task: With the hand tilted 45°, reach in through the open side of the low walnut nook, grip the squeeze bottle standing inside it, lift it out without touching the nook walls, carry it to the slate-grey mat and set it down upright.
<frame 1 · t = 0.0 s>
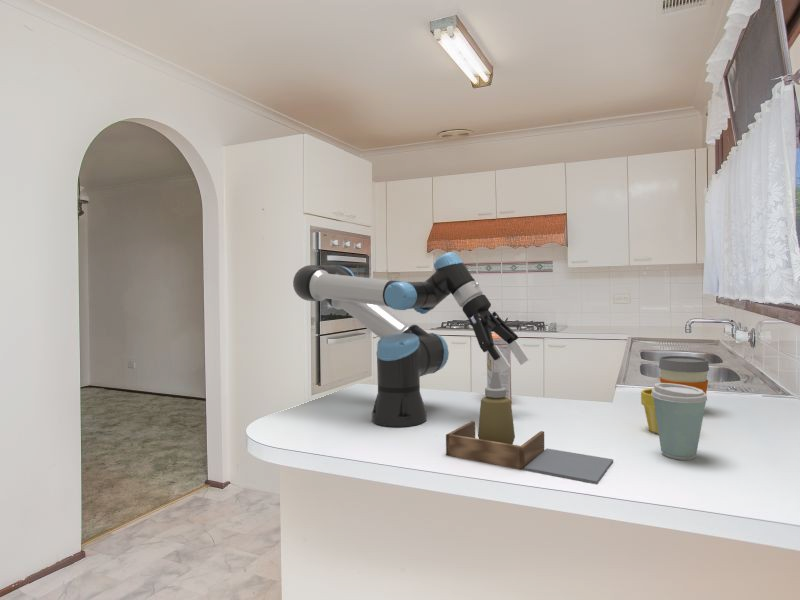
hand: (516, 365, 138), 15 cm above the counter, tool tilted 35°, fingers open, 13 cm apart
disposable coffee cup: (678, 456, 111), on the counter
squeeze bottle: (496, 453, 115), on the counter
cracker box: (498, 400, 166), on the counter
plant pot: (664, 432, 129), on the counter
walnut nook: (496, 452, 115), on the counter
slate mat: (569, 465, 106), on the counter
reusable coffee cup: (683, 412, 148), on the counter
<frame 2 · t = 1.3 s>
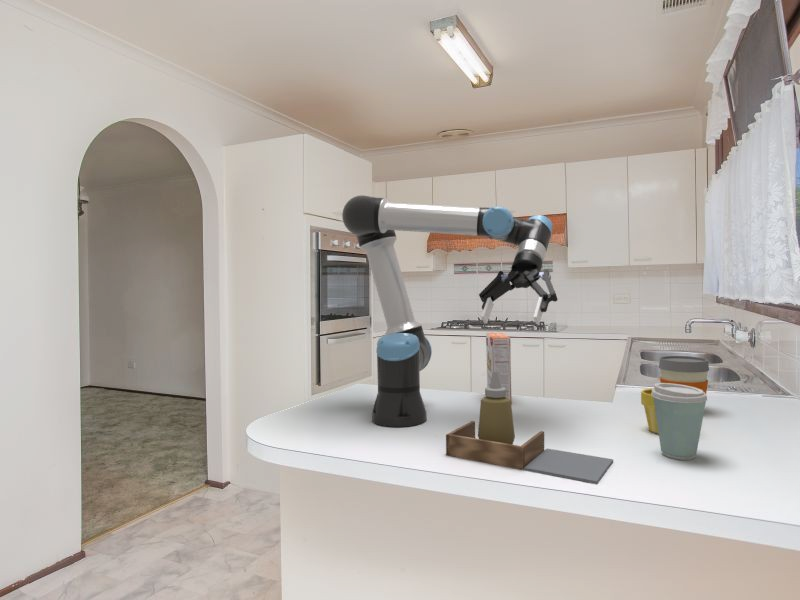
hand: (509, 320, 128), 28 cm above the counter, tool tilted 45°, fingers open, 13 cm apart
nothing on the counter moved.
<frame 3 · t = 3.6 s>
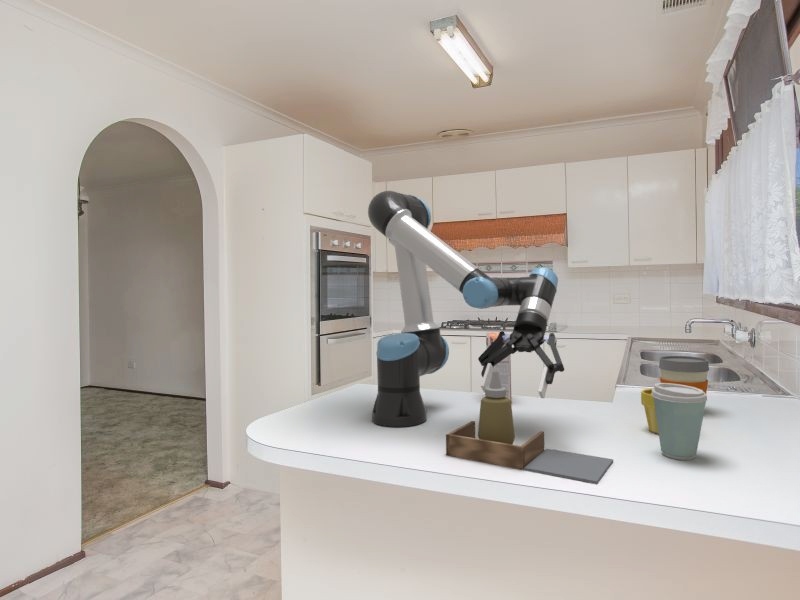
hand: (511, 392, 117), 13 cm above the counter, tool tilted 45°, fingers open, 13 cm apart
nothing on the counter moved.
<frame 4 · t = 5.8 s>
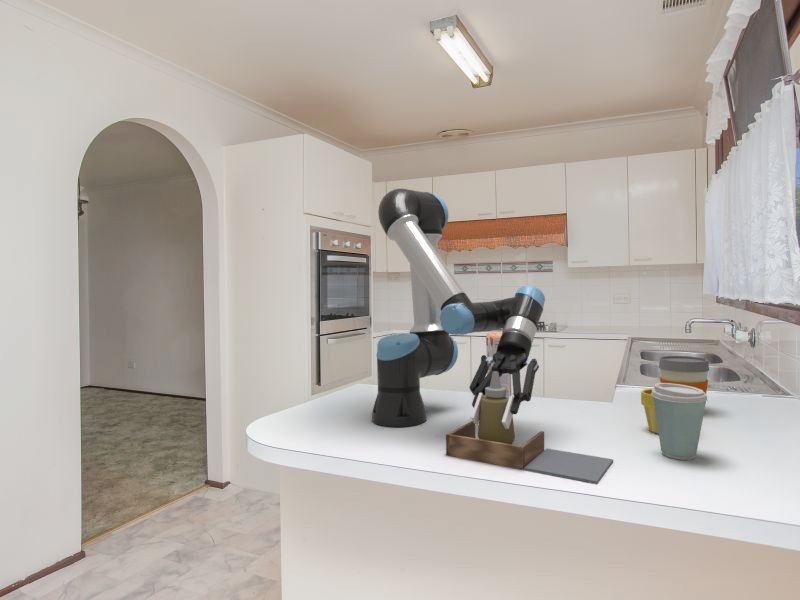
hand: (489, 423, 112), 7 cm above the counter, tool tilted 45°, fingers closed on squeeze bottle, 6 cm apart
squeeze bottle: (496, 453, 115), on the counter, touching gripper
everything else where it was.
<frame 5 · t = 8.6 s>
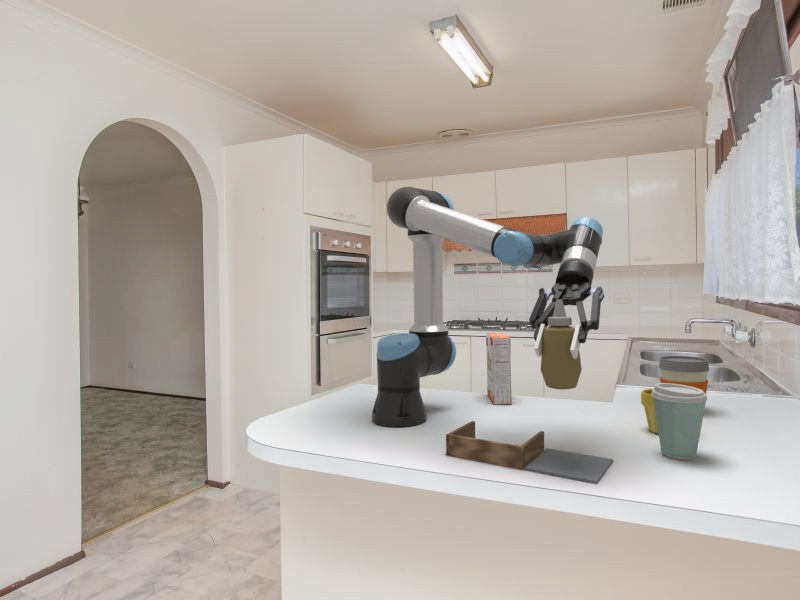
hand: (555, 353, 103), 23 cm above the counter, tool tilted 45°, fingers closed on squeeze bottle, 6 cm apart
squeeze bottle: (561, 388, 106), point 16 cm above the counter, touching gripper
everything else where it was.
when the fingers open (9 cm above the counter, at t = 11.6 s): squeeze bottle drops 1 cm, resting on slate mat.
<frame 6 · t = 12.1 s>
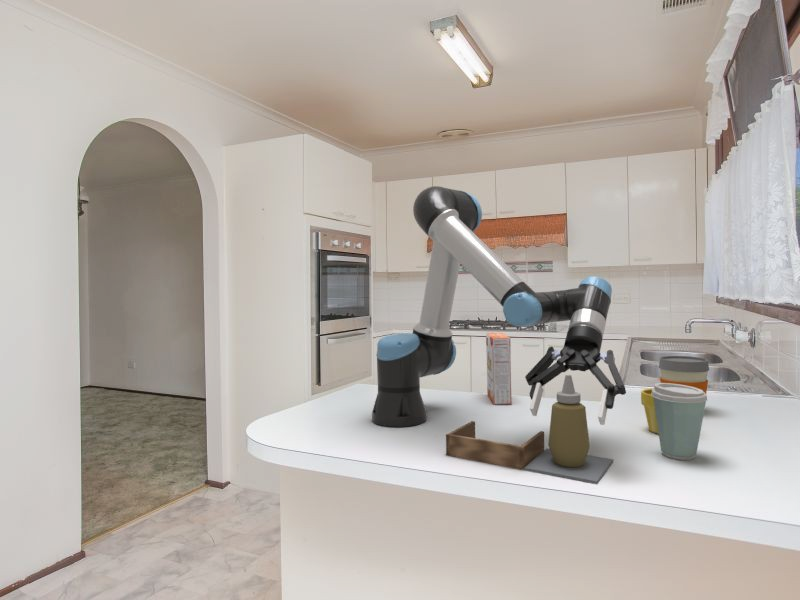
hand: (565, 416, 104), 11 cm above the counter, tool tilted 45°, fingers open, 13 cm apart
squeeze bottle: (568, 464, 106), resting on slate mat
everything else where it was.
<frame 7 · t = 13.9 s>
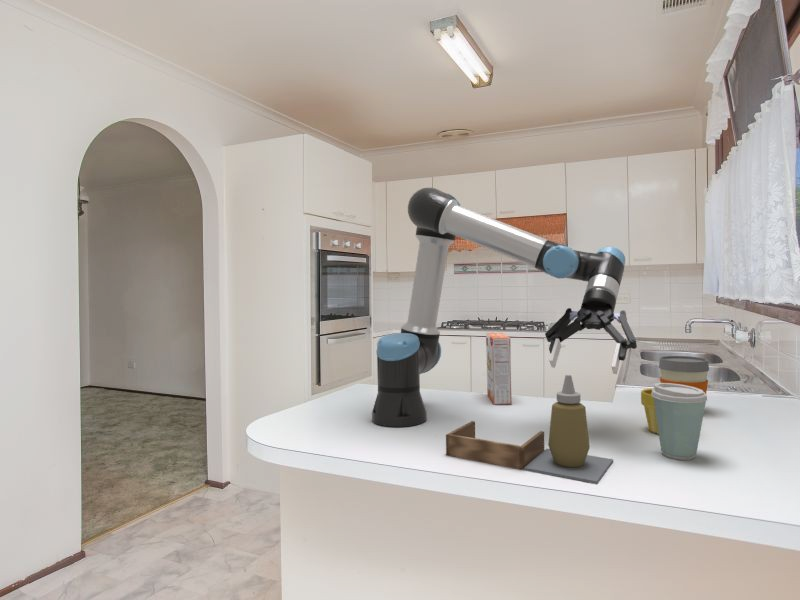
hand: (582, 367, 116), 18 cm above the counter, tool tilted 45°, fingers open, 13 cm apart
nothing on the counter moved.
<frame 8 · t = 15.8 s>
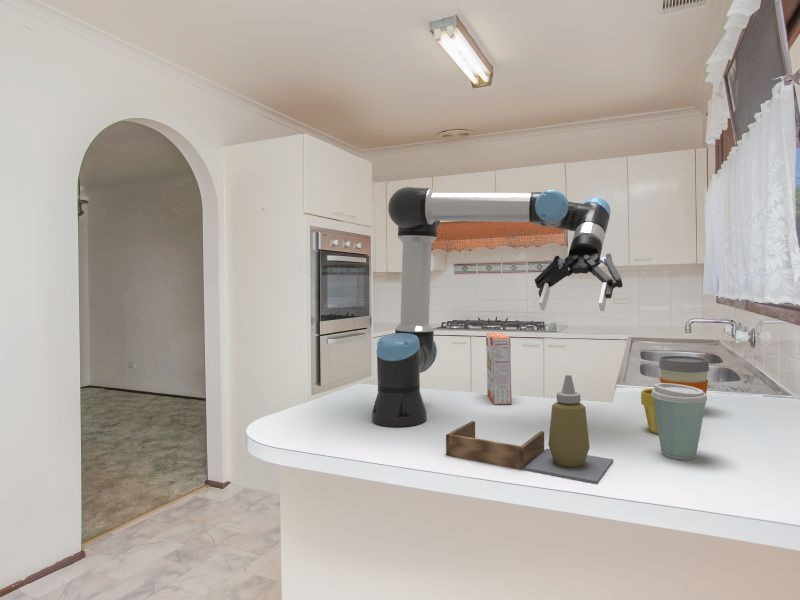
hand: (570, 307, 120), 32 cm above the counter, tool tilted 45°, fingers open, 13 cm apart
nothing on the counter moved.
at the end: squeeze bottle inside the target area on the slate mat (0.1 cm from its centre), point 0.3 cm above the slate mat's base; squeeze bottle tilted 0°; the gripper is holding nothing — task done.
